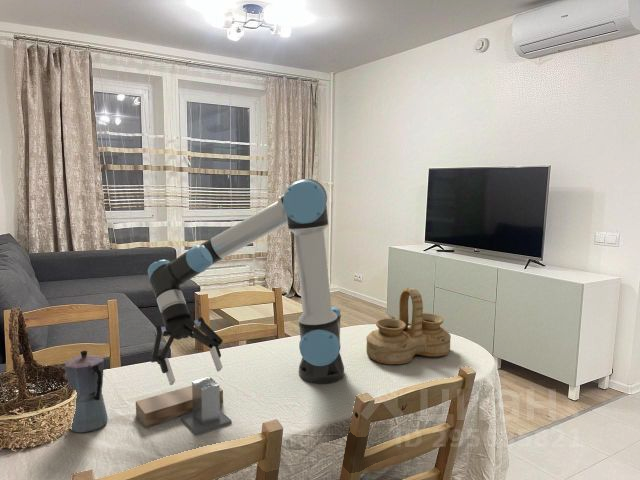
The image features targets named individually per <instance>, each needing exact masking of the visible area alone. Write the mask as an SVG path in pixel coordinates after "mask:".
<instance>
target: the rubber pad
mask: <svg viewBox="0 0 640 480" xmlns="http://www.w3.org/2000/svg"><path fill="white" fill-rule="evenodd" d="M180 420H181V421H182V422H183V423H184V424H185V425H186V426H187V427H188V429H189V430H190V431H191V432H192V433H193V434H194V435H195V436H199V435H202V434H204V433H208V432H210V431H214V430H216V429H219V428H221V427H225V426H228V425H230V424H231V425H232V422H233V420H232V419H231V418H229V416H227V415H226V413H224V412H223V411H222V410H221V409H220V420H218V421H215V422H212V423H210V424H207V425H204V426H202V425H201V424H200V423H199V422H198V421H197V420H196V419H195V418H194V417H193V412H192V413H189V414H186V415H183V416H181V417H180Z"/></svg>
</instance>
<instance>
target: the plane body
mask: <svg viewBox="0 0 640 480" xmlns="http://www.w3.org/2000/svg"><path fill="white" fill-rule="evenodd" d="M219 397H220V405H222V404H224V390H223V389H222V388H221V387H220V386H219ZM192 412H193V403H192V385H189V386H185V387H182V388H178V389H174V390H170V391H168V392H164V393H161V394H158V395H153V396H150V397H147V398H143V399H139V400H135V415H136V417H137V418H138V420H139V421H140V422H141V424H142V425H143V426H144V428H145V429H147V428H150V427H154V426H156V425H160V424H163V423H166V422H169V421H171V420H175V419H178V418H179V419H180V418H181V416H183V415H186V414H189V413H192Z"/></svg>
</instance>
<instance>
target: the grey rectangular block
mask: <svg viewBox="0 0 640 480" xmlns="http://www.w3.org/2000/svg"><path fill="white" fill-rule="evenodd" d="M191 386H192V403H193V417H194V418H195V419H196V420H197V421H198V422H199V423H200V424H201V425H202V426H204V425H207V424H210V423H212V422H215V421H218V420H220V410H221V409H220V408H221V407H220V405H221V404H220V397H219V387H220V384H219V383H218V381H215V380H214V379H213V378H212V377H211V376H206V377H203V378H199V379H195V380H192V381H191Z"/></svg>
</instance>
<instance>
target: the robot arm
mask: <svg viewBox="0 0 640 480" xmlns="http://www.w3.org/2000/svg"><path fill="white" fill-rule="evenodd" d="M327 201H328V193H327V191H326V189H325V187H324V186H323V184H321V183H320V182H319V181H318V180H315V179H312V178H305V179H304V178H303V179H300V180H296V181H294V182H292V183H291V184H290V185H289V186H288V187H287V188H286V191H285V192H284V193H283V194H280V195H279V196H278V200H277V201H275V202H274V203H271V204H270V205H268V206H266V207H265V208H263V209H261V210H259V211H258V212H256V213H253V215H252V214H251V216H249V217H247V218H245V219H243V220H242V221H239V222H238V223H236V224H234V225H233V226H231V227H230V228H228V229H226V230H224V231H222V232H220V233H218V234H216V235H215V236H213V237H211V238H210V239H208V240H205V242H202V243H200V244H197V245H195V246H193V247H191V248H189V249H188V250H186V251H185V252H184V253H182V254H181V255H179V256H178V257H177V258H175V259H173V260H172V261H170V260H168V259H159V260H158V261H154V262H152V263H151V264H150V265H149V266H148V269H147V275H148V280H149V284H150V285H151V287H152V291H153V294H154V296H155V300H156V303H157V306H158V309H159V311H160V312H159V313H160V314H161V319H162V323H163V324H164V326H161V325H157V326H156V327H155V329H154V335H155V340H154V343H153V348H152V352H151V357H150V362H151V363H157V365H159V367H160V370H161V373H162V374H166V377H167V380H168V383H169V386H173V385H174V383H175V382H176V378H175V376H174V371H173V369H172V366H171V363H170V360H169V358H168V357H166V355H167V353H168V351H169V350H170V348H171V345H172V344H173V342H174V340H177V341H178V340H182V339H188V338H189V337H190V338H191V339H195V340H196V341H198V342H200V343H202V344H203V345H205V346H206V347H207V348H209V349H210V350H209V353H210V356H211V359H212V361H213V363H214V366H215V370H216V372H217V373H219V372H221V370H223V364H222V361H221V357H222V354H221V351H220V348H219V347H220V346H221V345H222V343H223V342H224V339H222V337H220V336H219V335H218V334H217V333H216V332H215V331H214V330H213V328H211V327H210V326H209V325H208V324H207V323H206V322H205V319H204V318H203V317H201V316H200V317H198V319H195V320H193V319H192V315H191V314H190V313H191V312H190V309H189V308H188V307H189V306H188V305H187V302H186V299H185V297H184V293H183V291H182V289H181V286H183V285H184V284H185V283H187V282H189V281H190V280H191V279H194V278H195V277H196V276H198V275H199V274H201V273H203V272H205V271H206V270H208V269H209V268H210V267H211V266H213V265H215V264H216V263H218V262H219V261H220V262H221V261H222V260H223V259H225V258H226V257H228V256H230V255H232V254H234V253H235V252H237V251H239V250H241V249H243V248H245V247H246V246H249V245H250V244H252V243H254V242H255V241H257V240H259V239H261V238H264V237H265V236H266V235H269V234H270V233H272V232H274V231H276V230H278V229H280V228H281V227H283V226H285V225H287V226H288V227H287V229H288V230H289V231H290V232H292V233H293V234H294V242H295V251H296V252H295V253H296V261H297V269H298V278H299V279H298V280H299V287H300V288H299V289H300V296H301V297H300V298H301V299H300V300H301V307H302V308H301V309H302V314H301V315H300V316H299V317H298V327H299V329H298V330H299V335H300V336H299V345H298V346H299V347H298V348H299V353H300V355H301V357H302V358H301V360H300V363H299V365H298V376H299V377H300V378H301V379H302V380H304V381H306V382H309V383H314V384H331V383H335V382H338V381H340V380H342V379H343V378H344V376H345V366H344V363H343V359H342V356H341V318H342V314H341V309H340V308H339V307H338V306H335V305H332V301H331V298H332V297H331V290H330V289H331V288H330V282H329V281H330V280H329V269H328V261H327V251H326V240H325V231H326V228H328V226H329V218H328V215H329V214H328V207H327V205H328V204H327ZM195 326H196V327H195ZM164 333H166V334H168V335H169V337H168V339H167V341H166V343H165V346H164V348H163V350H162V352H161V354H160V355H159V351H160V345H161V340H162V338H163V337H162V336H163V335H164Z"/></svg>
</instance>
